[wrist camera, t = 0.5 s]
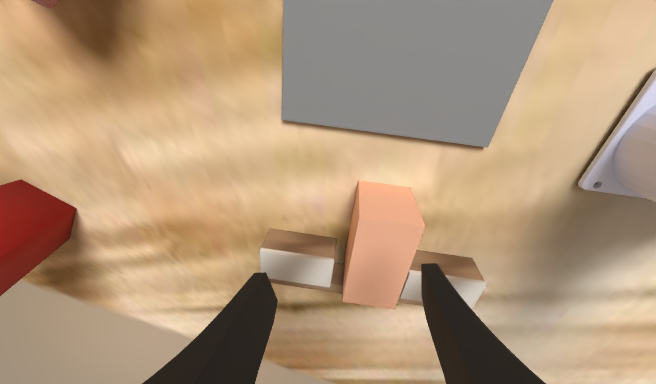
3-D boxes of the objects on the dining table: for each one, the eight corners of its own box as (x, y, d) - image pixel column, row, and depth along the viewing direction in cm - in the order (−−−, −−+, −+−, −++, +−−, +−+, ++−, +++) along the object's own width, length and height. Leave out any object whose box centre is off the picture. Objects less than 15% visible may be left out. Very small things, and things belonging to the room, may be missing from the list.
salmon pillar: (410, 186, 20) (425, 226, 16) (387, 261, 24) (394, 309, 20) (358, 179, 20) (359, 217, 16) (344, 255, 24) (342, 301, 20)
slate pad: (570, -50, 13) (576, -53, 12) (485, 145, 18) (487, 147, 17) (287, -82, 13) (284, -85, 13) (283, 118, 18) (281, 119, 18)
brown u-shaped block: (472, 258, 23) (486, 285, 20) (455, 288, 25) (467, 316, 22) (270, 228, 23) (259, 251, 21) (270, 260, 25) (260, 284, 23)
